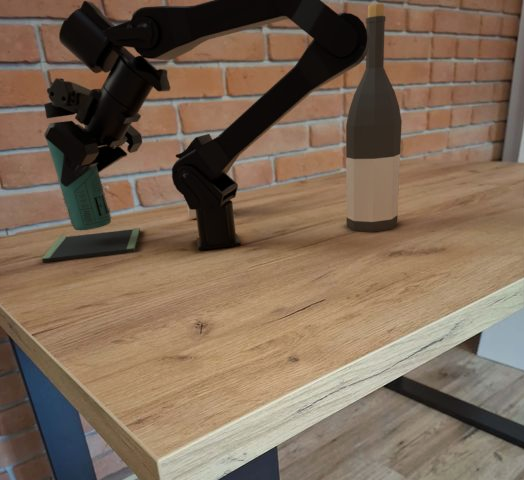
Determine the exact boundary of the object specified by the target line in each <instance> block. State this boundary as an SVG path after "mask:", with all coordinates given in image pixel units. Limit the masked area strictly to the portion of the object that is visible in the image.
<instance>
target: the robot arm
mask: <svg viewBox="0 0 524 480" xmlns="http://www.w3.org/2000/svg"><path fill="white" fill-rule="evenodd" d="M286 20H290V21H291V22H292V23H294V24H295V25H296V26H298V28H300V29H301V30H302V31H304V32H305V34H307V35H309V36H310V37H311V38H312V40H311V41H310V43H309V44H308V46H307V47H306V49H305V51H304V52H303V53H302V55H301V57H300V58H299V60H298V61H297V62H296V64H295V65H294V66H293V67H292V68H291V69H290V70H289V71H288V72H286V73H285V75H283V76H282V77H281V78H280V79H279V80H278V81H277V82H276V83H275V84H274V85H272V86H271V87H270V89H269V88H268V90H267V91H266V92H265V93H264V94H263V95H262V96H260V97H259V98H258V99H257V100H256V101H255V102H254V103H253V104H252V105H250V106H249V107H248V108H247V109H246V110H245V111H244V112H243V113H242V114H241V115H240V116H238V117H237V118H236V119H235V120H234V121H233V122H232V123H231V124H230V125H228V126H227V128H225V129H224V130H223V131H222V132H221V133H220V134H219V135H218V136H216V137H214V138H212V136H211V134H210V133H206V134H203V135H199V136H196V137H194V138H193V139H192V141H191V142H190V143H189V145H188V146H187V147H186V148H185V150H182V152H180V153H177V154H175V158H177V160H176V161H175V162H174V164H173V166H172V168H171V179H172V183H173V186H174V187H175V188H176V190H177V191H178V192H179V194H181V195H182V196H183V198H184V200H185V202H186V205H187V204H188V206H189V208H190V209H191V210H196V218H195V219H196V224H197V232H198V237H196V245H197V250H198V251H206V250H214V249H221V248H229V247H230V248H231V247H238V246H241V245H242V244H241V239H240V238H239V236H238V233H236V225H235V215H234V206H233V205H234V203H233V201H232V199H235V198H236V196H237V191H238V187H239V185H238V183H237V182H236V181H235V180H234V179H233V178H232V177H230V175H229V174H228V173H229V171H230V170H231V169H232V167H233V165H234V164H235V162H236V161H237V160H238V158H239V157H240V155H242V154H244V152H245V151H246V150H247V149H249V147H251V146H252V145H254V143H255V142H257V140H259V139H260V138H261V137H263V135H265V134H266V133H267V132H268V131H269V130H270V129H272V128H273V127H274V126H276V124H277V123H278V122H280V121H281V120H282V119H283V118H284V117H286V115H288V114H289V113H290V112H291V111H292V110H293V109H295V108H296V107H297V106H298V105H299V104H300V103H302V102H303V101H304V100H305V99H306V98H307V97H308V96H309V95H311V94H312V93H313V92H314V91H316V90H318V89H319V88H321V87H323V86H325V85H327V84H328V83H330V82H332V81H334V80H335V79H337V78H339V77H341V76H342V75H344V74H346V73H347V72H349V71H350V70H352V69H354V68H355V67H357V66H359V65H360V64H361V63H363V60H364V59H366V54H367V52H368V47H369V35H368V32H367V30H366V26H365V23H364V21H362V20H361V19H360V17H359V16H357V15H355V14H354V13H349V12H339V13H337V12H336V11H334V10H333V9H332V8H331V7H330V6H328V5H327V4H326V3H325V2H324V1H322V0H209V1H206V2H202V3H199V4H195V5H186V6H185V5H159V6H158V5H157V6H144V7H143V6H142V7H140V8H138V9H136V10H135V11H134V12H133V13H132V15H131V19H130V20H128V21H125V22H122V23H120V24H114V23H113V22H112V21H111V20H110V19H109V18H108V17H106V15H105V14H104V13H103V12H102V10H101V9H100V7H98V6H97V5H96V4H95V3H94V2H91V1H88V0H84V1H82V4H81V6H80V7H79V8H77V9H75V10H74V11H73V12H72V13H70V15H69V16H68V17H67V18H66V19H64V20H63V22H62V24H61V27H60V29H59V35H58V39H59V42H60V44H61V45H63V47H65V48H66V49H67V51H69V52H70V53H71V54H73V55H74V57H76V58H77V59H78V60H79V61H80V62H81V63H82V64H83V65H85V66H86V67H87V69H89V70H90V71H91V72H92V73H94V74H100V73H102V72H103V73H105V74H106V73H108V74H107V76H106V78H105V80H104V81H103V84H102V86H101V88H92V89H90V88H87V87H86V86H83V85H81V84H78V83H76V82H73V81H69V80H65V78H61V77H59V78H57V77H56V78H55V79H54V80H53V81H50V86H49V87H47V89H46V92H47V95H48V98H49V100H50V102H52V105H53V106H55V107H61V108H64V109H66V110H68V111H71V112H73V113H75V116H74V119H75V120H76V121H77V122H78V123H79V124H80V125H83V126H84V127H83V128H84V129H81V128H80V127H79V126H77V123H75V122H74V120H66V121H65V120H64V121H55V122H50V123H49V124H48V127H47V128H46V130H45V132H44V134H43V136H44V138H45V140H46V139H47V140H49V141H50V142H51V143H52V144H53V145H54V146H55V147H57V148H58V149H59V150H60V151H61V152H62V153H63V166H62V174H61V183H62V184H63V185H64V186H65V187H67V186H68V185H70V184H71V183H72V182H74V181H75V180H77V179H78V178H79V177H81V176H82V175H83V174H85V173H86V172H87V171H89V170H90V169H91V168H93V167H94V166H95V165H97V169H98V173H99V174H100V173H101V172H102V171H104V170H106V169H107V168H109V167H111V166H112V165H114V164H116V163H117V162H119V161H120V160H122V159H123V158H126V157H127V156H128V153H129V154H133V153H136V152H138V150H139V149H140V147H141V145H142V144H143V137H142V134H141V132H139V130H137V129H136V128H135V127H134V126H133V125H132V123H137V122H139V121H140V119H141V117H142V115H140V113H139V112H140V110H141V108H142V107H143V105H144V103H145V101H146V100H147V98H148V96H149V95H150V93H151V91H152V90H153V88H154V89H155V90H156V91H157V92H158V93H159V92H170V91H171V85H170V80H169V78H168V70H167V69H164V68H159V69H157V68H156V67H155V66H154V65H153V64H152V63H151V62H150V61H149V60H155V61H172V60H175V59H176V58H179V57H181V56H183V55H184V54H186V53H189V52H190V51H192V50H194V49H196V47H198V46H200V45H201V44H203V43H205V42H207V41H209V40H213V39H216V38H221V37H224V36H228V35H231V34H236V33H240V32H244V31H247V30H251V29H254V28H258V27H261V26H266V25H270V24H274V23H278V22H282V21H286ZM127 48H131V49H134V50H135V52H136V53H137V54H139V55H137V56H135V55H133V53H131V52H130V51H129V50H128V49H127ZM148 59H149V60H148ZM125 143H127V144H128V145H127V149H126V150H124V149H123V148H122V146H123V145H125ZM127 152H128V153H127Z"/></svg>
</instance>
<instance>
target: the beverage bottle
mask: <svg viewBox="0 0 524 480" xmlns="http://www.w3.org/2000/svg"><path fill="white" fill-rule="evenodd" d="M43 107H44V111H45V117H46V119H53V118H60V117H61V118H62V117H66V116H73V115H76V113H73V112H71V111H68V110H66V109H64V108H61V107H55V106H53V105H52V101H50V102H47V103H45V104H44V105H43ZM76 125H77V126H79V127H80V128H81V129H84V128H85V127H83V126H82V125H81V124H80V123H78V124H77V123H76ZM45 141H46V144H47V146H48V149H49V153H50V157H51V160H52V162H53V166H54V169H55V172H56V176H57V179H58V185H59V189H60V190H61V195H62V197H63V199H62V200H63V203H64V204H65V205H64V206H65V207H66V208H65V209H66V211H67V215H68V217H69V221H70V225H71V226H72V228H73V229H74V230H76V231H89V230H94V229H98V228H99V229H100V228H102V227H105V226H108V225H110V224H111V223H112V214H111V211H110V206H109V205H108V201H107V198H106V193H105V192H104V191H105V190H104V189H105V188H104V186H103V180H102V179H101V177H100V172H99V173H98V169H97V165H95V166H94V167H93V168H91V169H90V170H89V171H87V172H86V173H85V174H83V175H82V176H81V177H79V178H78V179H77V180H75V181H74V182H72V183H71V184H70V185H68V186H67V187H65V186H64V185H63V184H62V183H61V174H62V166H63V153H62V152H61V151H60V150H59V149H58V148H57V147H55V146H54V145H53V144H52V143H51V142H50V141H49V140H47V139H46V138H45Z"/></svg>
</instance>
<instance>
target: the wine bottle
mask: <svg viewBox="0 0 524 480" xmlns="http://www.w3.org/2000/svg"><path fill="white" fill-rule="evenodd" d="M384 10H385V5H384V3H372V4H371V3H370V4H369V5H368V6H367V17H366V18H365V24H366V26H365V27H366V30H367V32H368V35H369V47H368V52H367V54H366V56H365V70H364V72H363V74H362V77H361V79H360V81H359V82H358V85H357V88H356V90H355V91H354V94H353V96H352V100H351V103H350V106H349V109H348V113H347V119H346V122H345V123H346V124H345V177H346V178H345V179H346V180H345V182H346V183H345V184H346V185H345V186H346V188H345V189H346V190H345V191H346V192H345V197H346V198H345V199H346V202H345V203H346V207H345V208H346V210H345V211H346V213H345V214H346V216H345V217H346V227H347V228H349V229H351V230H352V231H354V232H355V231H357V232H369V233H370V232H372V233H373V232H381V231H387V230H392V229H393V228H394V227H396V226H397V225H398V220H399V219H398V218H399V217H398V216H399V198H400V197H399V196H400V174H401V173H400V169H401V150H402V149H401V147H402V146H401V145H402V125H403V124H402V123H403V122H402V121H403V120H402V115H401V109H400V105H399V102H398V101H399V100H398V97H397V94H396V91H395V89H394V87H393V85H392V82H391V80H390V79H389V77H388V75H387V71H386V70H385V68H384V67H385V66H384V65H385V64H384V63H385V62H384V61H385V60H384V58H385V26H386V24H385V23H386V16H385V15H384V12H385V11H384Z"/></svg>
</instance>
